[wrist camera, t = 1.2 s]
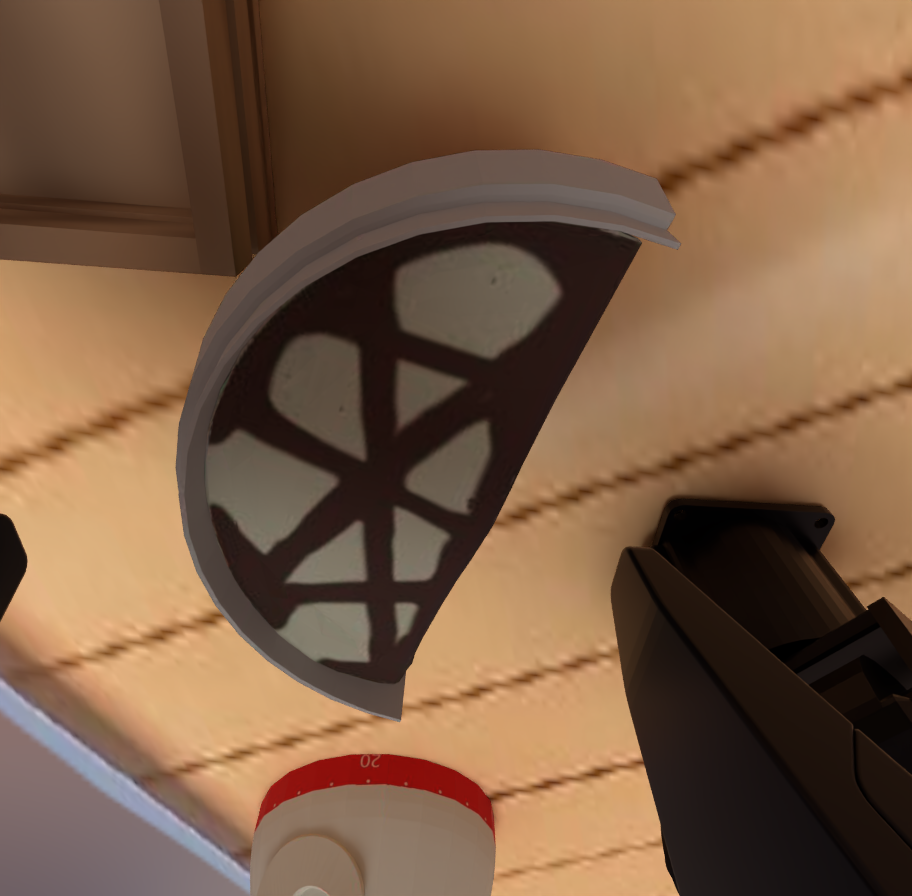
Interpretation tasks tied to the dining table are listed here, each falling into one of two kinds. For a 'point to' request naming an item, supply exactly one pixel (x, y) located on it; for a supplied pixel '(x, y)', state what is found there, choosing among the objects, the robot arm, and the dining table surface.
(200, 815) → the dining table surface
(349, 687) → the food container
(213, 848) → the dining table surface
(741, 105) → the dining table surface
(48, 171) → the tray
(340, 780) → the kitchen timer
